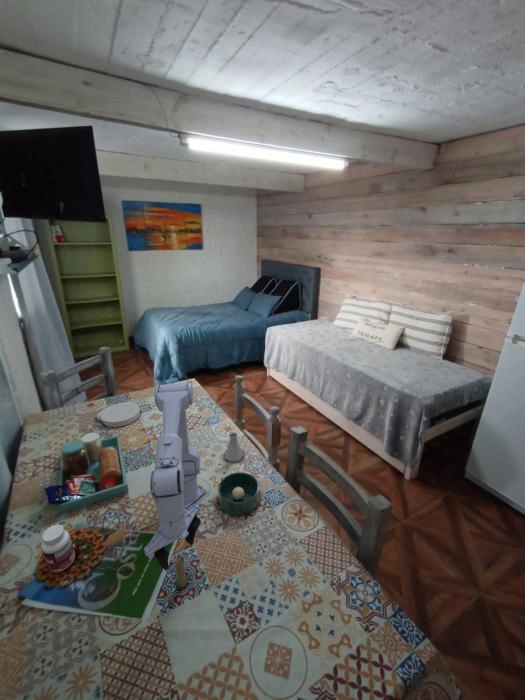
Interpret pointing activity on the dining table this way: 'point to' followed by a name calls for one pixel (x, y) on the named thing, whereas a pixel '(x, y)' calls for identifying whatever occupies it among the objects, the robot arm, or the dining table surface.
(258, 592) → the dining table surface
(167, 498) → the robot arm
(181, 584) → the stick
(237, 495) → the ball
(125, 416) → the lid
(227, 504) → the bowl
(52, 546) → the pill bottle
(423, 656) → the dining table surface
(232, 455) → the flask
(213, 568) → the dining table surface
